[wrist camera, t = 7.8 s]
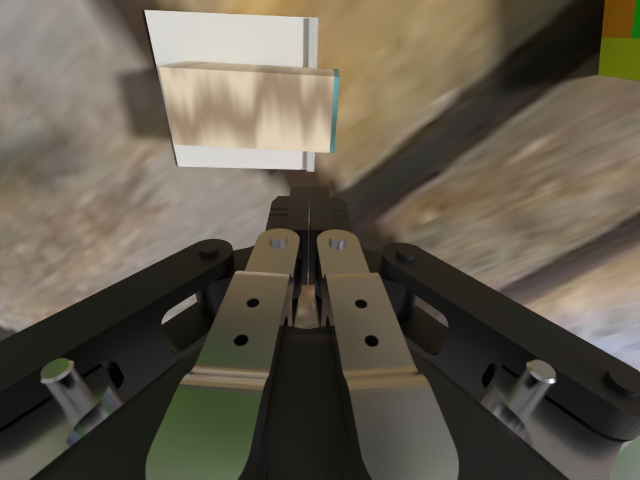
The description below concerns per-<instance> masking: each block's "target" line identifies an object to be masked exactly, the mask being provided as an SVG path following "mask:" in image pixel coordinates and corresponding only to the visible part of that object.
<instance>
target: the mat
mask: <svg viewBox="0 0 640 480" xmlns="http://www.w3.org/2000/svg"><path fill="white" fill-rule="evenodd" d="M144 11H145V15H146V20H147V25H148V29H149V34H150V39H151V43H152V48H153V52H154V57H155V62H156V66H157V71H158V76H159V80H160V85H161V89H162V94H163V99H164V103H165V108H166V113H167V117H168V122H169V126H170V131H171V136H172V140H173V145H174V149H175V154H176V159H177V163H178V166H184V167H223V168H261V169H300V170H307V171H314V158H315V152H307V151H288V150H269V149H249V148H230V147H211V146H192V145H175V144H174V139H173V134H172V130H171V125H170V120H169V115H168V110H167V105H166V100H165V95H164V90H163V85H162V81H161V76H160V71H159V67H161V66H166V65H170V64H175V63H180V62H184V61H199V62H217V63H236V64H254V65H272V66H290V67H309V68H317V48H318V18H312V17H309V18H307V17H285V16H263V15H241V14H219V13H196V12H174V11H152V10H144Z"/></svg>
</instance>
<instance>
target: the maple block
mask: <svg viewBox="0 0 640 480" xmlns="http://www.w3.org/2000/svg"><path fill="white" fill-rule="evenodd" d="M159 71H160V76H161V81H162V85H163V90H164V95H165V100H166V105H167V110H168V115H169V120H170V125H171V130H172V134H173V139H174V144H175V145H192V146H211V147H230V148H249V149H269V150H288V151H307V152H326V153H334V148H335V134H336V120H337V106H338V92H339V78H340V76H339V73H338V69H327V68H309V67H290V66H272V65H254V64H236V63H217V62H199V61H184V62H180V63H175V64H170V65H166V66H161V67H159Z"/></svg>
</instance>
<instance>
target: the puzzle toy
mask: <svg viewBox="0 0 640 480" xmlns="http://www.w3.org/2000/svg"><path fill="white" fill-rule="evenodd" d="M598 75H603V76H610V77H616V78H622V79H629V80H635V81H640V0H605V5H604V16H603V27H602V38H601V49H600V61H599V72H598Z"/></svg>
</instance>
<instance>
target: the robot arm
mask: <svg viewBox="0 0 640 480" xmlns="http://www.w3.org/2000/svg"><path fill="white" fill-rule="evenodd" d="M308 215H309V185H291V192H290V196H278V197H277V198H276V199H275V200H274V201H272V204H271V210H270V213H269V218H268V222H267V226H266V231H265V232H263V233H261V234H260V235H259V236H258V238H257V241H256V243H255V245H254V246H252V247H249V248H245V249H239V250H234V251H233V248H232V246H231V244H230V243H228V242H227V241H225V240H221V239H208V240H203V241H200V242H197V243H195V244H193V245H191V246H189V247H187V248H185V249H183V250H181V251H179V252H177V253H175V254H173V255H171V256H169V257H167V258H165V259H163V260H161V261H159V262H157V263H155V264H153V265H151V266H149V267H147V268H145V269H143V270H141V271H139V272H137V273H135V274H133V275H131V276H129V277H127V278H125V279H123V280H121V281H119V282H117V283H115V284H113V285H111V286H109V287H107V288H105V289H103V290H101V291H99V292H97V293H95V294H93V295H92V296H90V297H88V298H86V299H84V300H82V301H80V302H78V303H76V304H74V305H72V306H70V307H68V308H66V309H64V310H62V311H60V312H58V313H56V314H54V315H52V316H50V317H48V318H46V319H44V320H42V321H40V322H38V323H36V324H34V325H32V326H30V327H28V328H26V329H24V330H22V331H20V332H18V333H16V334H14V335H12V336H10V337H8V338H6V339H4V340H2V341H0V480H609V478H610V475H611V473H612V470H613V467H614V465H615V462H616V459H617V457H618V454H619V452H620V451H621V450H623V449H624V448H625V447H626V446H627V445H629V444H630V443H631V442H632V441H633V440H635V439H636V438H637V437H638V436H639V435H640V372H639V371H638V370H636V369H635V368H633V367H631V366H630V365H628V364H626V363H624V362H622V361H621V360H619V359H617V358H615V357H614V356H612V355H610V354H608V353H606V352H605V351H603V350H601V349H599V348H597V347H596V346H594V345H592V344H590V343H588V342H587V341H585V340H583V339H581V338H580V337H578V336H576V335H574V334H572V333H571V332H569V331H567V330H565V329H563V328H562V327H560V326H558V325H556V324H555V323H553V322H551V321H549V320H547V319H546V318H544V317H542V316H540V315H538V314H537V313H535V312H533V311H531V310H529V309H528V308H526V307H524V306H522V305H521V304H519V303H517V302H515V301H513V300H512V299H510V298H508V297H506V296H504V295H503V294H501V293H499V292H497V291H496V290H494V289H492V288H490V287H488V286H487V285H485V284H483V283H481V282H479V281H478V280H476V279H474V278H472V277H471V276H469V275H467V274H465V273H463V272H462V271H460V270H458V269H456V268H454V267H453V266H451V265H449V264H447V263H445V262H444V261H442V260H440V259H438V258H437V257H435V256H433V255H431V254H429V253H428V252H426V251H424V250H422V249H420V248H419V247H417V246H414V245H411V244H407V243H393V244H390V245H388V246H386V247H385V248H384V250H383V253H381V252H377V251H372V250H369V249H366V248H364V247H362V246H360V243H359V240H358V238H357V237H356V236H355V235H354V234H353V233H352V228H351V223H350V218H349V213H348V208H347V203H346V202H345V201H344V200H343V199H341V198H340V197H329V191H328V186H324V185H311V186H310V238H309V285H315V311H316V319H317V328H313V329H301V328H297V327H296V323H297V316H298V309H299V302H300V294H301V290H302V285H307V272H308ZM193 294H196V299H197V302H196V303H195V304H193V305H192V306H190V307H189V308H187V309H185V310H184V311H182V312H181V313H179V314H178V315H176V316H175V317H173V318H172V319H170V320H169V321H167V322H165V323H164V324H162V325H161V322H162V319H163V317H164V315H165V314H166V312H167V311H168V310H170V309H171V308H173V307H174V306H176V305H177V304H179V303H181V302H182V301H184V300H185V299H187V298H189V297H190V296H192V295H193ZM418 297H419V298H421V299H422V300H423V301H425V302H426V303H428V304H429V305H431V306H432V307H434V308H435V309H437V310H438V311H440V312H441V313H442V314H443V315H444V316H445V317H446V319H447V321H448V325H449V327H448V328H447V327H446V326H445V325H443V324H442V323H440V322H439V321H438V320H436V319H435V318H433V317H432V316H430V315H429V314H428V313H426V312H425V311H423V310H422V309H420V308H419V307H418V306H416V302H417V299H418Z"/></svg>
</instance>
